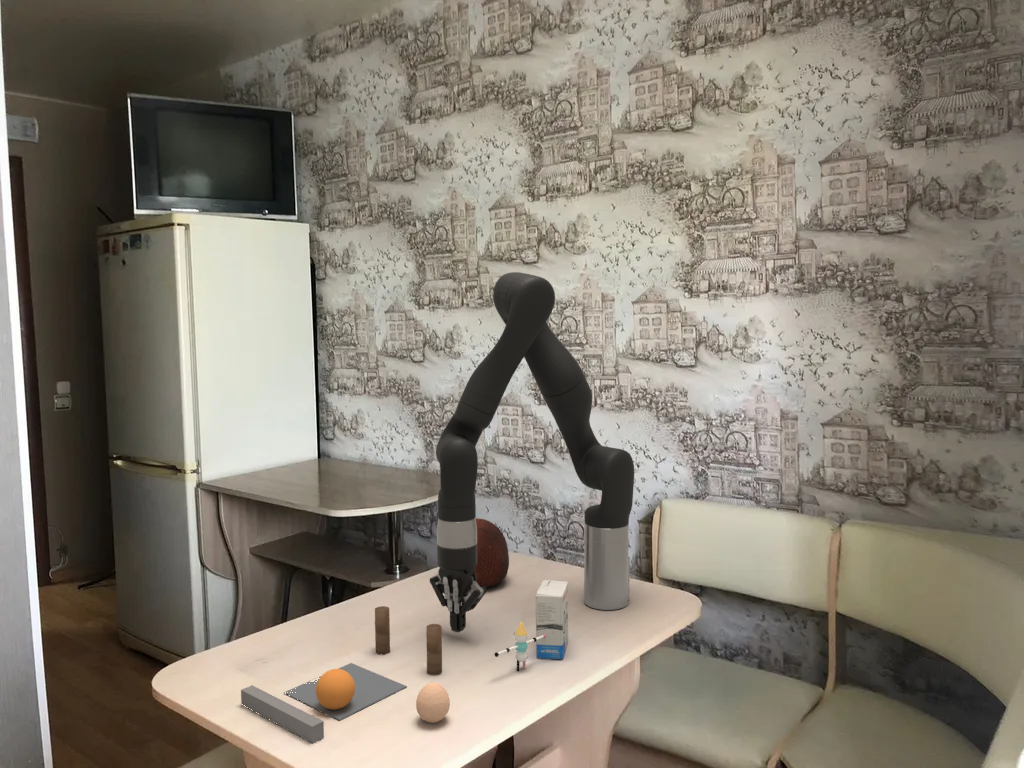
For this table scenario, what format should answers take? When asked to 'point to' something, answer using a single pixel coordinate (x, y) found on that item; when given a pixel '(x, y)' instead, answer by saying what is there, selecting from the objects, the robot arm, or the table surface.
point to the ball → (335, 689)
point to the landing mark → (366, 693)
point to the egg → (432, 702)
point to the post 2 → (434, 649)
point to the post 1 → (382, 630)
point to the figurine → (490, 554)
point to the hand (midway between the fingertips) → (457, 630)
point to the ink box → (552, 619)
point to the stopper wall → (283, 714)
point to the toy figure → (520, 645)
